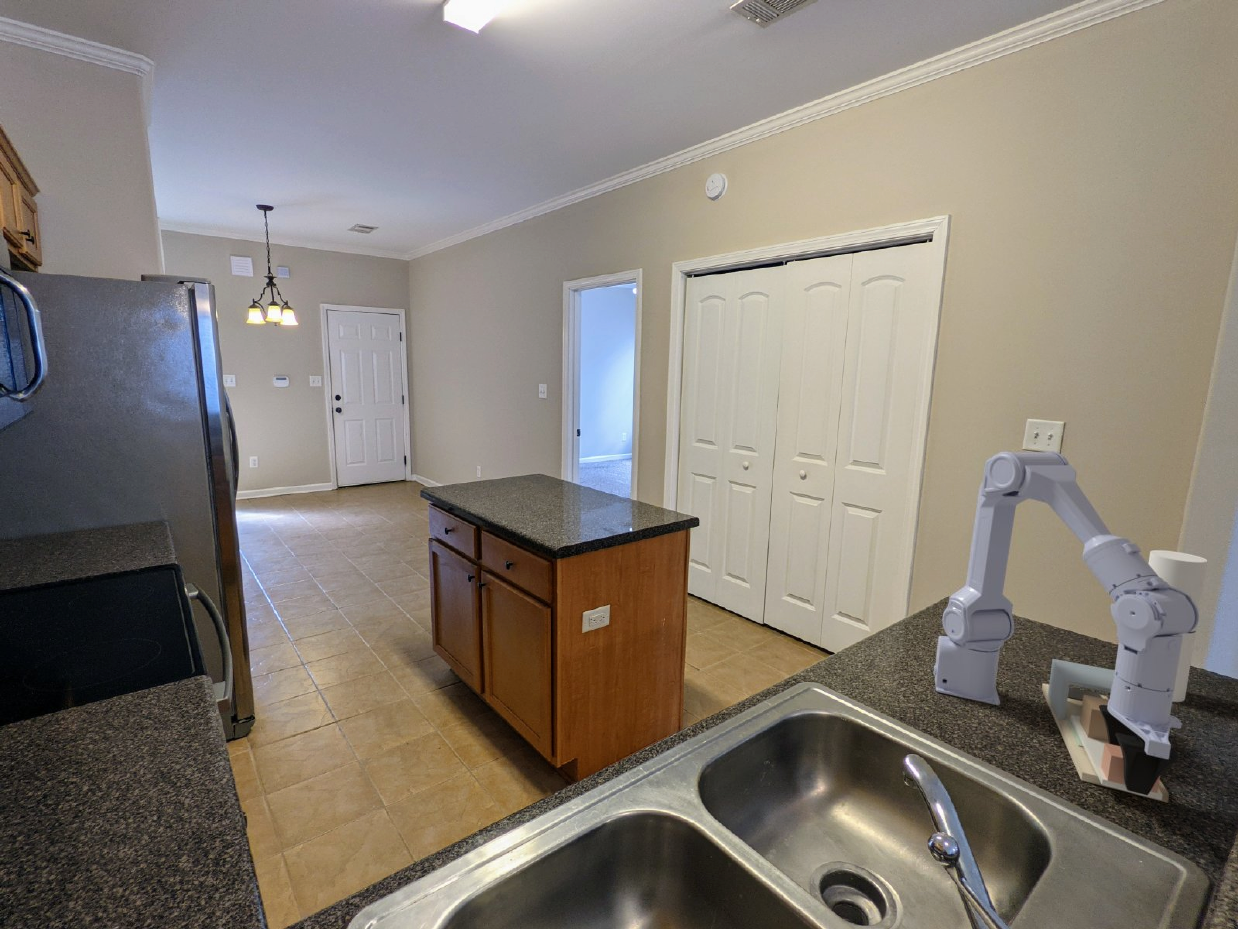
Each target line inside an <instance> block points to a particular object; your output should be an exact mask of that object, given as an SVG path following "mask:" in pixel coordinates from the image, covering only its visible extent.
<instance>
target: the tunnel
mask: <svg viewBox="0 0 1238 929" xmlns="http://www.w3.org/2000/svg"><path fill="white" fill-rule="evenodd" d="M1051 661H1052V662H1051V669H1050V677H1049V690H1048V696H1049V699H1050V701H1051V703H1052V705H1053V708H1054V710H1055V712H1056V714H1057V717H1058V719H1062V720H1065V714H1066V706H1067V699H1068V692H1069V688H1070V686H1075V687H1079V688H1085V689H1090V690H1095V691H1100V692H1103V693H1108V694H1109V693H1110V694H1111V687H1112V685H1113V679H1114V672H1115V669H1109V668H1105V667H1099V666H1093V665H1090V664H1089V665H1087V664H1082V663H1077V662H1073V661H1072V662H1070V661H1066V660H1061V659H1056V658H1052V660H1051Z"/></svg>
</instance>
